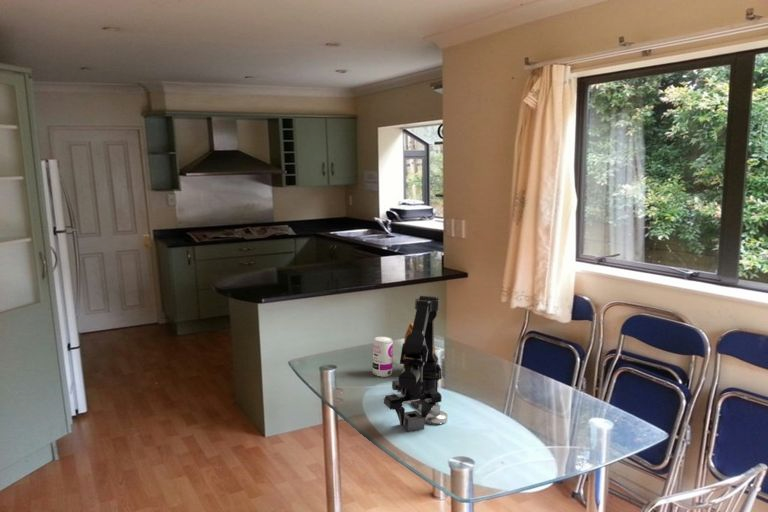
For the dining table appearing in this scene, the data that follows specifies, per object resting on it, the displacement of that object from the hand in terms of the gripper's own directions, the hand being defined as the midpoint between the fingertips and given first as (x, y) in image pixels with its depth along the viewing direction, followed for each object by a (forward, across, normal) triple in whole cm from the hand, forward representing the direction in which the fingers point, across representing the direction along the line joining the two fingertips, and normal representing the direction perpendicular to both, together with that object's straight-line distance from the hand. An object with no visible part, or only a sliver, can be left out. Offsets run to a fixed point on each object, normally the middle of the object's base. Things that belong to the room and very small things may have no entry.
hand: (412, 423), depth 195 cm
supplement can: (+2, -11, -49) cm, 50 cm away
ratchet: (+1, -10, -8) cm, 13 cm away
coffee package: (+2, -26, -45) cm, 52 cm away
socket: (+1, 0, 0) cm, 1 cm away
